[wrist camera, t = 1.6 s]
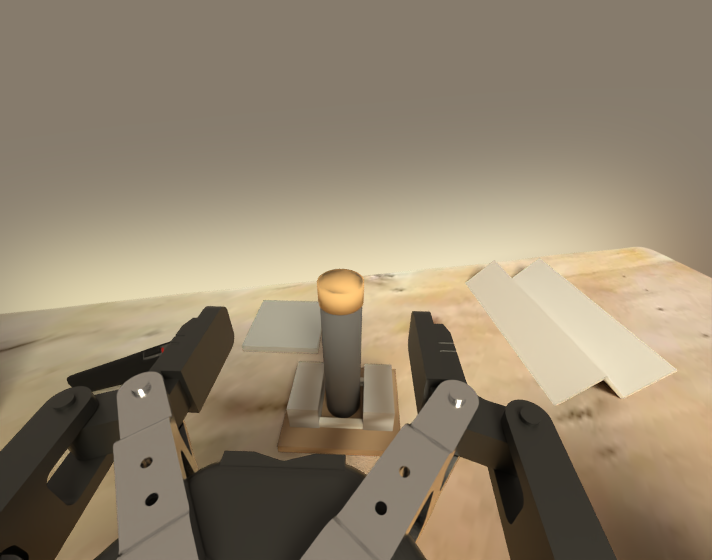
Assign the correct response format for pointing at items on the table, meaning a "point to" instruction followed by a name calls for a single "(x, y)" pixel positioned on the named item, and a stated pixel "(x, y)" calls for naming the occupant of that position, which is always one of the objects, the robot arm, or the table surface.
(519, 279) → the z bracket
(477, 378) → the table surface
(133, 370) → the electric trimmer
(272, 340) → the rubber mat
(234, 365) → the table surface
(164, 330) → the table surface
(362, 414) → the clamp block
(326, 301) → the grey orange cylinder
